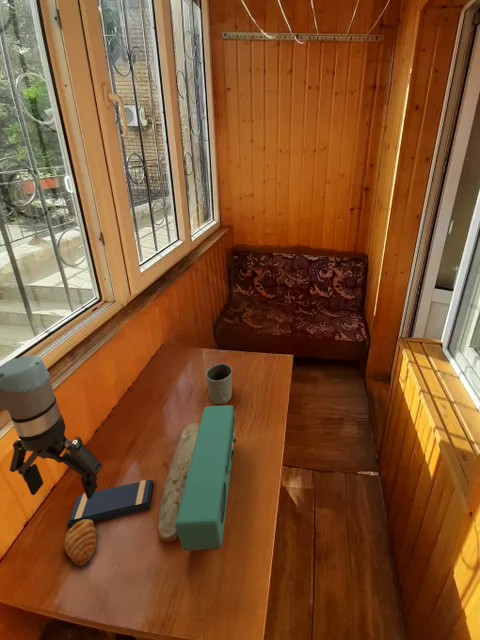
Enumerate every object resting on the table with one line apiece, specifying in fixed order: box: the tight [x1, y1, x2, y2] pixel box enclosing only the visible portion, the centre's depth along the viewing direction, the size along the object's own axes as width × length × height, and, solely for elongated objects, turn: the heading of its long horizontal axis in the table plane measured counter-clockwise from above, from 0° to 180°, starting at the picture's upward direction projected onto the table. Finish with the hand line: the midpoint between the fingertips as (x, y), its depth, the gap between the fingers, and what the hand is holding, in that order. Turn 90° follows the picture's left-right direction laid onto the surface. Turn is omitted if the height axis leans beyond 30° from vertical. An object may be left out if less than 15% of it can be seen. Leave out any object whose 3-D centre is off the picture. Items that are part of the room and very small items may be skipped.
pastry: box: [63, 519, 98, 566], centre depth 78 cm, size 9×7×4 cm
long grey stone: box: [157, 421, 200, 543], centre depth 94 cm, size 35×5×10 cm
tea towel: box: [67, 479, 154, 529], centre depth 87 cm, size 20×7×3 cm, turn 103°
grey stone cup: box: [205, 363, 233, 405], centre depth 123 cm, size 10×10×12 cm
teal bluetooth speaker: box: [175, 404, 237, 552], centre depth 89 cm, size 34×10×15 cm, turn 3°
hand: (65, 490), depth 73 cm, fingers open, 13 cm apart
